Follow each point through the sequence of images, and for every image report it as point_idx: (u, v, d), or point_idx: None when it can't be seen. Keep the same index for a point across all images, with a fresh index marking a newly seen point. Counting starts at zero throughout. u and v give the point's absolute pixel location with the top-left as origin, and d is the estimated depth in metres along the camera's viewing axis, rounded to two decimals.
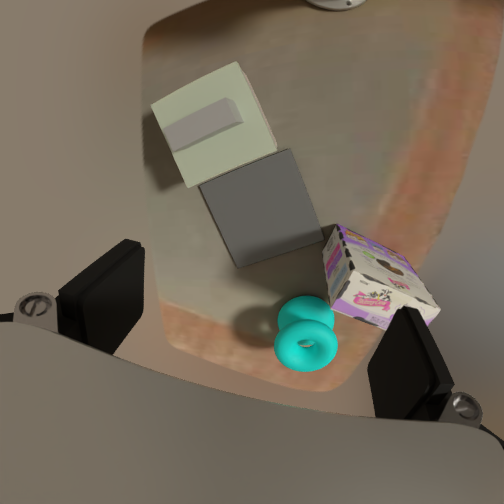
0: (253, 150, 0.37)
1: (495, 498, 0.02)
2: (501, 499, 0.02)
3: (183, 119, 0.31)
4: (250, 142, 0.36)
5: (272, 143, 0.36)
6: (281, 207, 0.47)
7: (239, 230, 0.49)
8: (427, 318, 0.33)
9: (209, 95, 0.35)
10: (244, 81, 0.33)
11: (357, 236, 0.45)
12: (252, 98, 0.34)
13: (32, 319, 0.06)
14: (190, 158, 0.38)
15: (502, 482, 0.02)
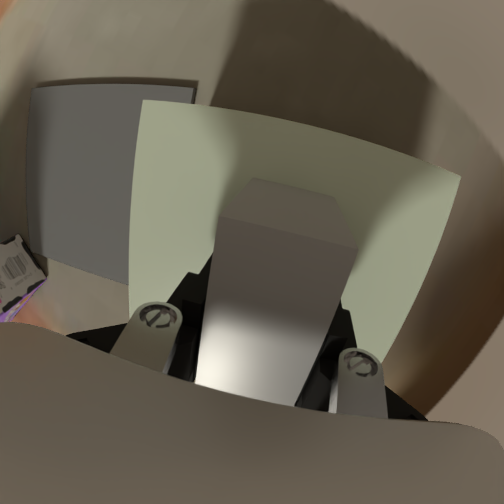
0: None
1: (495, 498, 0.02)
2: (501, 499, 0.02)
3: (313, 346, 0.07)
4: None
5: None
6: (82, 220, 0.21)
7: (76, 122, 0.18)
8: None
9: None
10: None
11: (24, 301, 0.24)
12: None
13: (149, 329, 0.07)
14: (217, 164, 0.11)
15: (502, 482, 0.02)
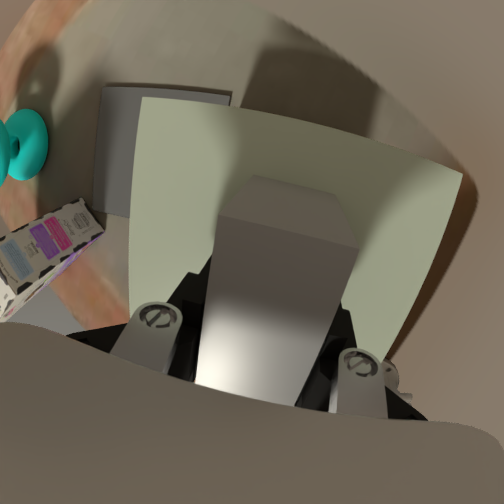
0: None
1: (495, 498, 0.02)
2: (501, 499, 0.02)
3: (314, 346, 0.07)
4: None
5: None
6: None
7: None
8: None
9: None
10: None
11: None
12: None
13: (148, 329, 0.07)
14: (217, 161, 0.11)
15: (502, 482, 0.02)
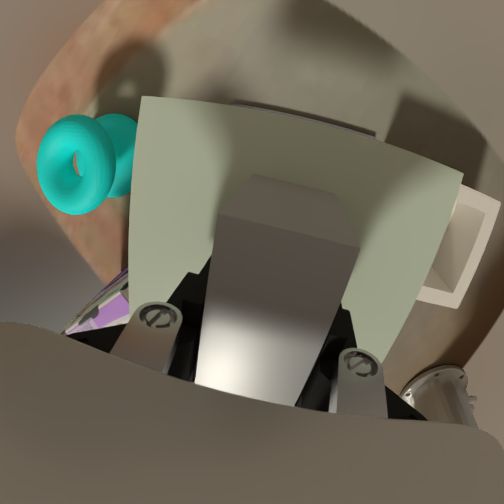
0: None
1: (495, 498, 0.02)
2: (501, 499, 0.02)
3: (314, 346, 0.07)
4: None
5: None
6: None
7: None
8: None
9: None
10: None
11: None
12: None
13: (148, 329, 0.07)
14: (217, 160, 0.11)
15: (502, 482, 0.02)
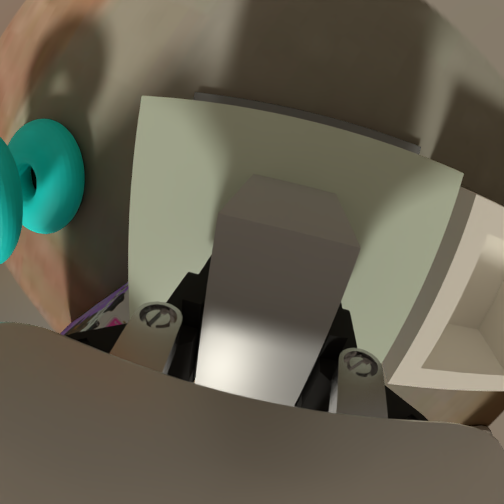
0: None
1: (495, 498, 0.02)
2: (501, 499, 0.02)
3: (314, 346, 0.07)
4: None
5: None
6: None
7: None
8: None
9: None
10: None
11: None
12: None
13: (148, 329, 0.07)
14: (217, 160, 0.11)
15: (502, 482, 0.02)
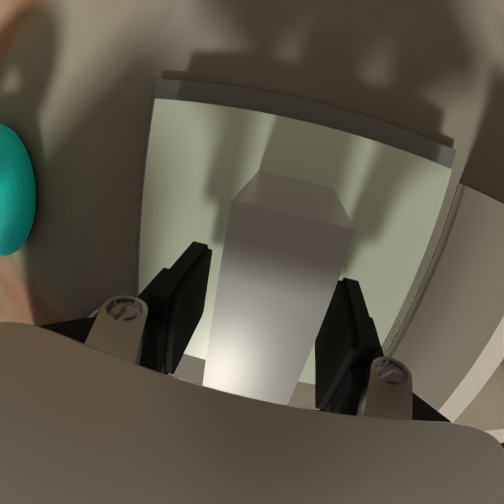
0: None
1: (495, 498, 0.02)
2: (501, 499, 0.02)
3: (316, 320, 0.08)
4: None
5: None
6: None
7: None
8: None
9: None
10: (307, 380, 0.16)
11: None
12: None
13: (116, 322, 0.07)
14: (225, 158, 0.12)
15: (502, 482, 0.02)
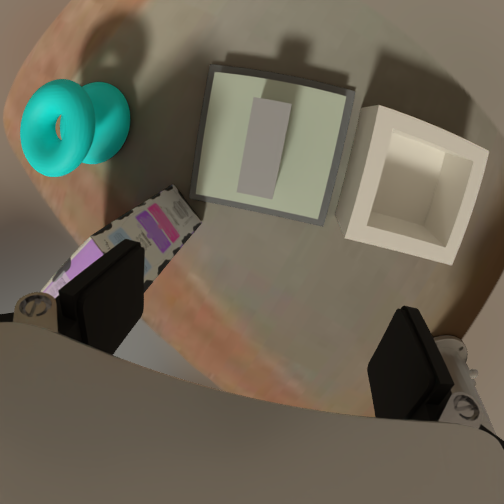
0: (209, 170, 0.30)
1: (495, 498, 0.02)
2: (501, 499, 0.02)
3: (282, 136, 0.23)
4: (219, 173, 0.30)
5: (205, 194, 0.31)
6: None
7: None
8: None
9: (302, 166, 0.29)
10: (289, 211, 0.30)
11: None
12: (265, 206, 0.31)
13: (32, 319, 0.06)
14: (246, 96, 0.26)
15: (502, 482, 0.02)
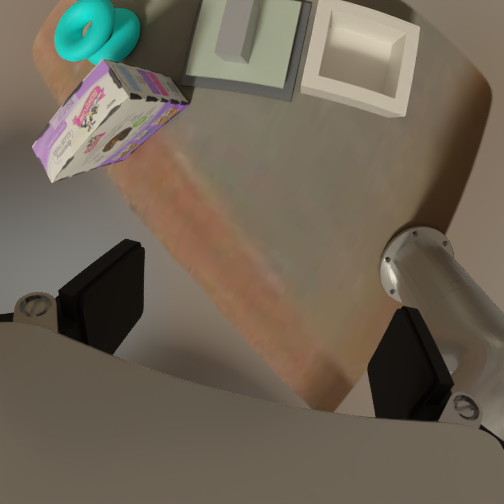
0: (197, 56, 0.33)
1: (495, 498, 0.02)
2: (501, 499, 0.02)
3: (248, 14, 0.26)
4: (205, 57, 0.33)
5: (193, 74, 0.34)
6: None
7: None
8: (48, 165, 0.27)
9: (268, 48, 0.31)
10: (259, 82, 0.33)
11: (165, 118, 0.37)
12: (240, 79, 0.34)
13: (32, 319, 0.06)
14: None
15: (502, 482, 0.02)
